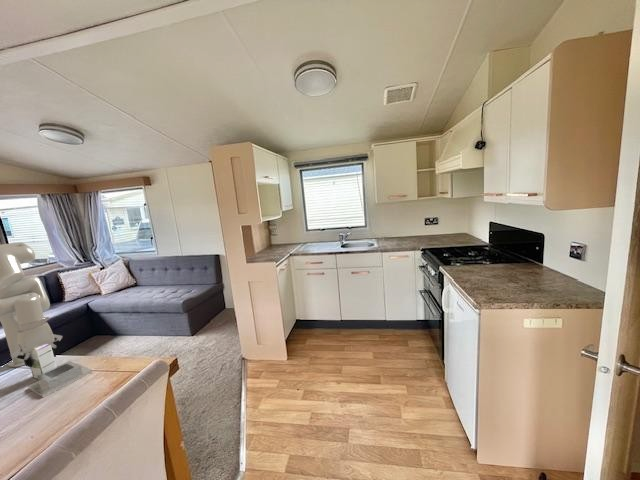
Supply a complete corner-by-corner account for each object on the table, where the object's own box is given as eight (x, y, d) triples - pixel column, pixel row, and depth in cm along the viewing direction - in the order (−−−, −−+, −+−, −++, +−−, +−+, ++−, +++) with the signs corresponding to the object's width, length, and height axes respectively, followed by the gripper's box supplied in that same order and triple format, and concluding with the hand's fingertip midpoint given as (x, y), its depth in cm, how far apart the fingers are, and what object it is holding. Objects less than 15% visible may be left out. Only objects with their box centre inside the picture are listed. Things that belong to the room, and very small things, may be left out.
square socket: (28, 388, 106) (26, 378, 106) (77, 365, 120) (75, 356, 120) (42, 397, 100) (40, 387, 100) (92, 372, 114) (90, 363, 114)
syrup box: (58, 370, 118) (51, 341, 116) (43, 379, 112) (35, 348, 110) (47, 370, 118) (40, 341, 116) (32, 379, 112) (24, 349, 110)
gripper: (55, 314, 121) (64, 349, 123) (-2, 332, 105) (10, 371, 108) (62, 316, 117) (71, 352, 120) (5, 335, 102) (16, 375, 105)
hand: (42, 360), depth 114 cm, fingers closed on syrup box, 7 cm apart
